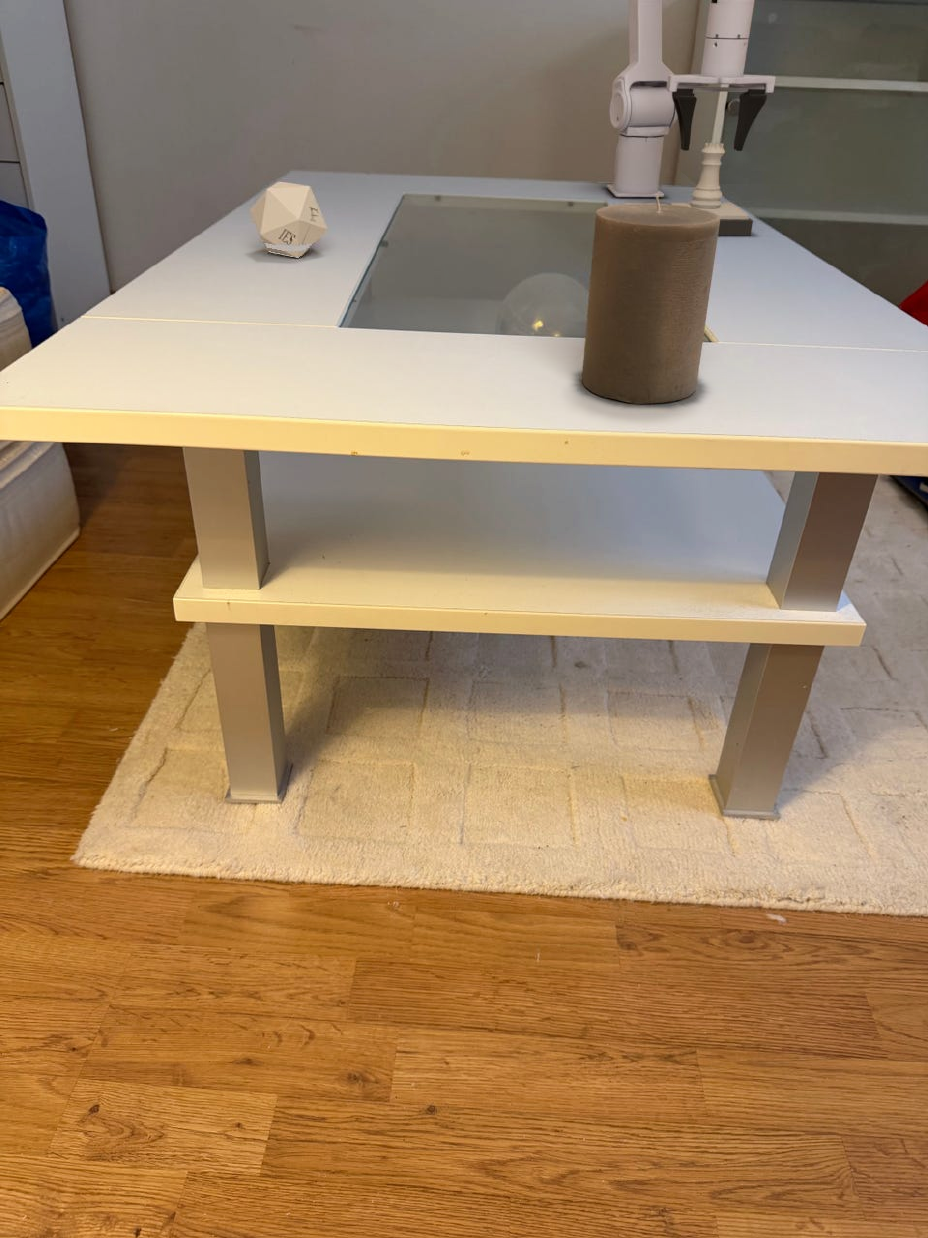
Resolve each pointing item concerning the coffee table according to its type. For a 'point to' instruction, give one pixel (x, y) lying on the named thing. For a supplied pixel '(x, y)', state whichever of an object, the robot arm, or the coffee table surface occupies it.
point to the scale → (729, 219)
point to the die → (288, 217)
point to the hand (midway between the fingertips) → (711, 149)
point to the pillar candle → (648, 300)
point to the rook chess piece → (709, 178)
